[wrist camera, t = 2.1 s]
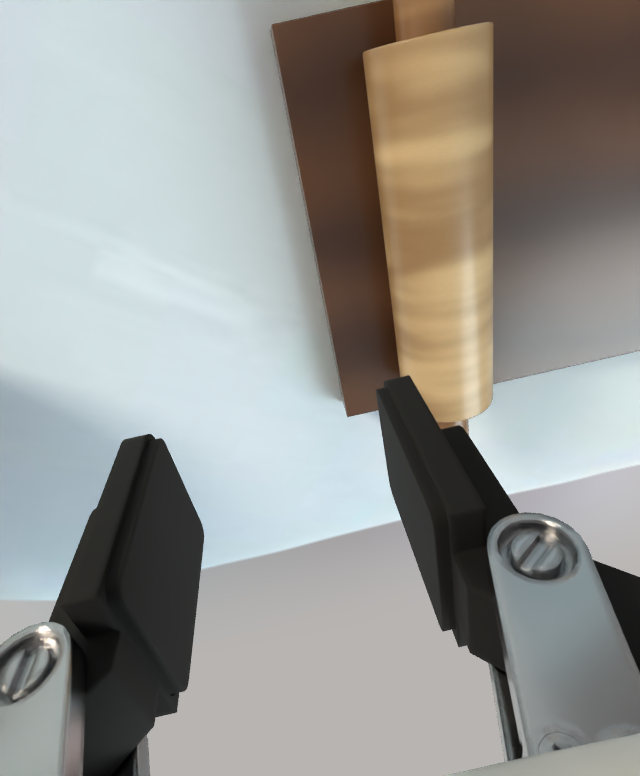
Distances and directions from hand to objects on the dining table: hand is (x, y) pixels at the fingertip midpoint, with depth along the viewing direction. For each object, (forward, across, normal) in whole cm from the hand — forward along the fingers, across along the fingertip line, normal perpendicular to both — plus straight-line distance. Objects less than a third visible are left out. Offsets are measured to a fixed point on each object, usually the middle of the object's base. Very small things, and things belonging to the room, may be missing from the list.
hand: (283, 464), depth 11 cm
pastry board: (+15, -14, 0) cm, 21 cm away
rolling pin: (+14, -7, 0) cm, 16 cm away
